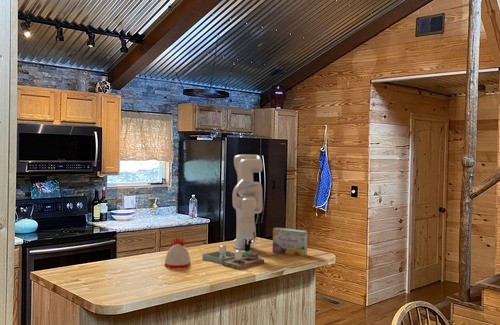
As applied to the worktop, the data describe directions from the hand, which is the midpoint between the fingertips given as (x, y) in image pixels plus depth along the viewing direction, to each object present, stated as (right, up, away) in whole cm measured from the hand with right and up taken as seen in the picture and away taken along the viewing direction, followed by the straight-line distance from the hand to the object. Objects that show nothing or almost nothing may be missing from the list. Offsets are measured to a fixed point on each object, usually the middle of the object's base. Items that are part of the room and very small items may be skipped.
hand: (247, 250), depth 282 cm
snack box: (+26, -5, +16) cm, 31 cm away
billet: (-14, -4, -6) cm, 16 cm away
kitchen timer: (-38, -5, -17) cm, 42 cm away
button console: (0, -5, 0) cm, 5 cm away
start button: (0, -4, 0) cm, 4 cm away
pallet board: (-2, -5, -17) cm, 18 cm away
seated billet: (-5, -4, -20) cm, 21 cm away
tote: (-14, -5, -5) cm, 16 cm away
